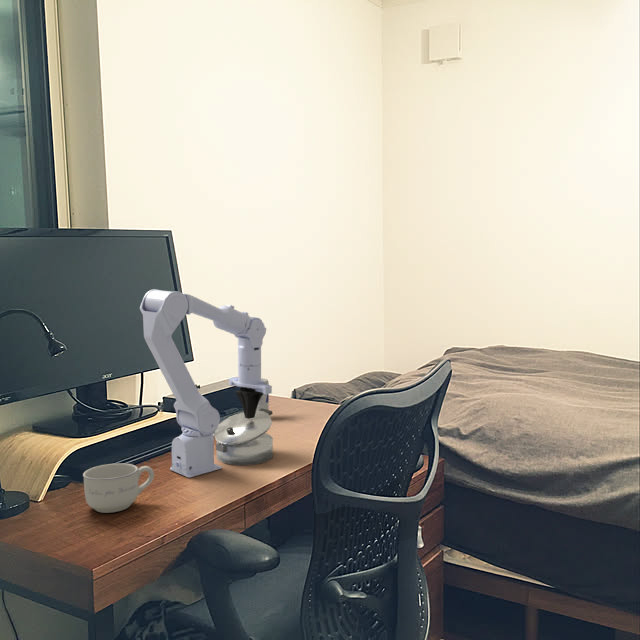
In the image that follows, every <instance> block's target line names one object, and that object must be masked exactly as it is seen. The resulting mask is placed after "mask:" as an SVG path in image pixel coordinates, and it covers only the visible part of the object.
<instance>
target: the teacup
mask: <svg viewBox="0 0 640 640" xmlns="http://www.w3.org/2000/svg"><path fill="white" fill-rule="evenodd" d="M143 472H147V473H148V478H147V480H146V481H144V483H142V484H139V480H140V477H141V475H142V473H143ZM82 477H83V487H84V490H83V491H84V498H85V502H86V504H87V505H88V506H89V507H90V508H92V509H93V510H95V511H96V512H99V513H102V514H105V513H106V514H108V513H116V512H118V513H119V512H121V511H124V510H127V509H128V508H129V507H131V505H132V504H133V503H134V502H135V501H136V500H137V498H138V496H139V495H141V493H142V492H143V491H144V490H145V489H146V488H147V487H148V486H150V485H151V483H152V482H153V481H154V478H155V471H154V470H153V468H152V467H150V466H148V465H143V466H140V467H138V466H136V465H134V464H133V463H123V462H121V463H108V464H101V465H97V466H94V467H91V468H88V469H87V470H85V471H84V472H83V473H82Z"/></svg>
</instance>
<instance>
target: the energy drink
mask: <svg viewBox="0 0 640 640" xmlns="http://www.w3.org/2000/svg"><path fill="white" fill-rule="evenodd" d="M261 379H262V380H264V383H266V384H268V385H270V384H269V380H268V378H262V377H261ZM269 396H270V394H263V395H262V397H261V398H260V401H259V403H258V406H257V409H256V411H258V410H260V409H262V408H263V409H266V410H270V408H269V407H270V406H269V404H270V403H269V402H270V401H269V400H270V399H269Z"/></svg>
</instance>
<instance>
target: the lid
mask: <svg viewBox="0 0 640 640" xmlns="http://www.w3.org/2000/svg"><path fill="white" fill-rule="evenodd" d="M272 415H273V411H272V410H270V409H269V410H266V409H263V408H262V409H260V410H258V411H256V413H255V417H254V418H250V419H248V418H245V415H244V411H243V412H239V413H236V414H234V415H231V416H229V417H227V418H225V419H223V420H222V421H220V422H219V426H218V428H217V429H216V430H215V433H214V440H215V441H216V443H217V442H218V443H220V444H223V445H238V444H243V443H247V442H250V441H252V440H254V439H257V438H258V437H260V436H262V435H263V434H264V433H266V434H267V432H268V431H269V430H270V428H271V426H272V424H273V421H272V417H271V416H272Z"/></svg>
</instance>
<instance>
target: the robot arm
mask: <svg viewBox="0 0 640 640" xmlns="http://www.w3.org/2000/svg"><path fill="white" fill-rule="evenodd" d="M139 310H140V312H141V314H142V322H143V323H142V325H143V327H142V328H143V338H144V340H145V342H146V345H147V346H148V349H149V350H150V352H151V354H152V356H153V358H154V360H155V363H156V364H157V365H158V368H159V370H160V372H161V374H162V375H163V377H164V379H165V380H166V383H167V385H168V387H169V389H170V390H171V393H172V395H173V396H174V399H175V402H174V403H173V408H174V409H175V410H174V411H175V417H176V421H177V424H178V425H179V426H180V427H181V431H182V433H181V434H179V436H177V437H175V438H173V439H172V441H171V466H170V469H169V470H170V471H173V472H175V473H177V474H180V475H182V476H185V477H186V478H193V477H197V476H200V475H203V474H207V473H210V472H215V471H216V470H221V469H222V465H219V464H216V463H215V443H214V441H215V436H214V433H215V430H216V429H217V428H218V426H219V424H220V423H221V416H220V412H219V411H218V410H217V409H216V408H215V407H213V406H212V405H211V403H210V401H209V400H208V399H207V398H206V397H204V396H203V395H202V394H201V393H200V392H199V390H198V387H197V385H196V384H195V382H194V379H193V378H192V376H191V374H190V372H189V370H188V368H187V365H186V363H185V362H184V359H183V358H182V356H181V354H180V352H179V350H178V348H177V346H176V344H175V341H174V340H173V337H172V336H173V333H175V330H176V329H177V327H178V326H179V325H180V324H181V322H182V321H183V319H184V318H185V316H186V315H188V316H189V315H191V314H193V315H196V316H199V317H202V318H205V319H208V320H211V321H212V322H213V326H214V327H215V328H217V329H218V330H221V331H225V332H227V333H229V334H232V335H233V336H234V337H235V338H236V339H237V376H233V377H232V376H231V377H229V378H228V386H231V387H233V386H235V387H238V388H239V389H237V390H235V394H236V396H237V397H238V399H239V401H240V403H241V408H242V410H243V412H244V415H245V418H248V419H250V418H254V417H255V413H256V409H257V406H258V403H259V401H260V398H261V397H262V395H263V394H269V395H270V394H272V393H273V391H272V390H273V389H272V387H273V385H271V384H269V385H268V384H266V383H264V380H262V379H263V378H262V345H263V344H264V343H263V340H264V337H265V335H266V333H267V327H266V326H265V323H264V322H263V321H262V319H261V318H259V317H255V316H250V315H249V312H246V311H243V312H242V311H239V310H237V309H235V306H234V305H232V304H226V305H221V306H219V307H217V306H215V305H213V304H210V303H209V302H206V301H204V300H202V299H200V298H198V297H196V296H194V295H191V294H188V293H183V292H180V291H170V290H161V289H159V288H158V289H157V288H153V289H150V290H149V291H147V292H146V293H145V294H144V296H143V298H142V301H141V303H140V306H139ZM261 378H262V379H261Z"/></svg>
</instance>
